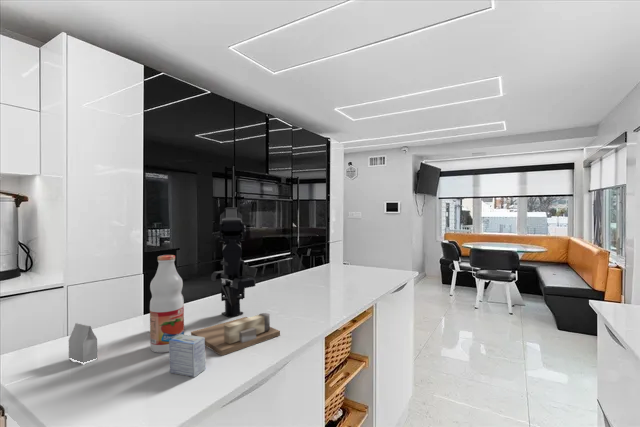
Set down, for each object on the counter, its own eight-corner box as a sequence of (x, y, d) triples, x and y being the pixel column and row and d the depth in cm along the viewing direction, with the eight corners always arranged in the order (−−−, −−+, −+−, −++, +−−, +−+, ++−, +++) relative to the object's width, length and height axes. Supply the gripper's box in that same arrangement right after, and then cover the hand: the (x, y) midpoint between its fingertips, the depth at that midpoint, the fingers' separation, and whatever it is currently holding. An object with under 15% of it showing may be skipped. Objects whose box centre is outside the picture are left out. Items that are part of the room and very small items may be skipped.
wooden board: (191, 336, 107) (190, 322, 107) (246, 320, 122) (245, 308, 122) (221, 355, 92) (221, 340, 92) (280, 335, 107) (279, 321, 107)
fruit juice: (166, 339, 105) (165, 253, 105) (190, 342, 102) (189, 254, 102) (143, 351, 96) (141, 257, 96) (168, 355, 93) (167, 258, 93)
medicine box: (206, 369, 84) (205, 336, 84) (194, 378, 80) (193, 343, 80) (181, 365, 86) (181, 333, 86) (169, 373, 82) (168, 339, 82)
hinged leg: (265, 327, 110) (265, 312, 110) (271, 329, 107) (271, 314, 107) (223, 341, 98) (223, 324, 98) (230, 344, 96) (229, 327, 96)
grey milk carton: (83, 365, 87) (82, 328, 87) (68, 360, 90) (68, 325, 90) (97, 359, 91) (96, 324, 91) (83, 355, 93) (82, 321, 93)
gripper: (269, 257, 104) (269, 305, 104) (239, 252, 117) (239, 295, 118) (238, 262, 96) (239, 313, 96) (210, 255, 110) (210, 301, 110)
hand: (232, 305), depth 105 cm, fingers closed
